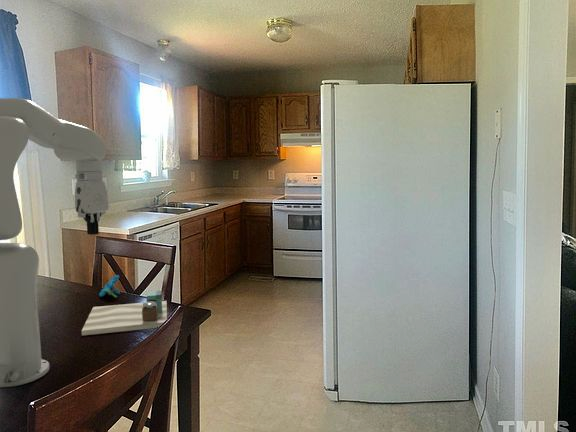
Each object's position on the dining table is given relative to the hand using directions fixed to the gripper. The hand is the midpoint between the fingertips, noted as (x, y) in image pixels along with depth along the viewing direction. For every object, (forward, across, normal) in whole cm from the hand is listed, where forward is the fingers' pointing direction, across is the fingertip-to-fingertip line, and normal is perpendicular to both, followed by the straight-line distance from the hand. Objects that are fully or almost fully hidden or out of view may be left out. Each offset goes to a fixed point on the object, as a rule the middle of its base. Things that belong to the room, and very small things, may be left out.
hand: (93, 233), depth 142 cm
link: (+25, +4, -18) cm, 31 cm away
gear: (+27, +19, +12) cm, 35 cm away
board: (+27, 0, -12) cm, 30 cm away
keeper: (+26, +6, -18) cm, 32 cm away
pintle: (+26, -2, -22) cm, 34 cm away
